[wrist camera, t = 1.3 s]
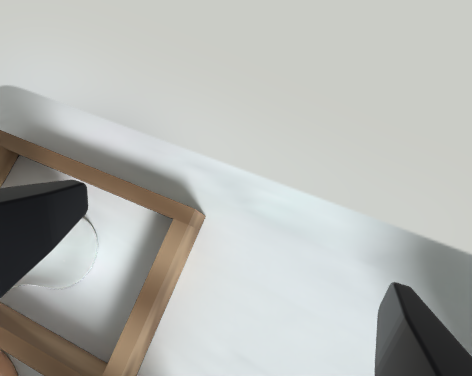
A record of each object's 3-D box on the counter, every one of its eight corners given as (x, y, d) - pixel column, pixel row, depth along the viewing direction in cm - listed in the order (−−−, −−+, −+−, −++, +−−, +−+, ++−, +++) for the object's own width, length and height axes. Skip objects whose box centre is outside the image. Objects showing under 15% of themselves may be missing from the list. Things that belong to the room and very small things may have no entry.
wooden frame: (127, 395, 23) (105, 412, 21) (-66, 281, 28) (-107, 282, 25) (205, 216, 26) (195, 209, 23) (15, 138, 31) (-13, 125, 28)
